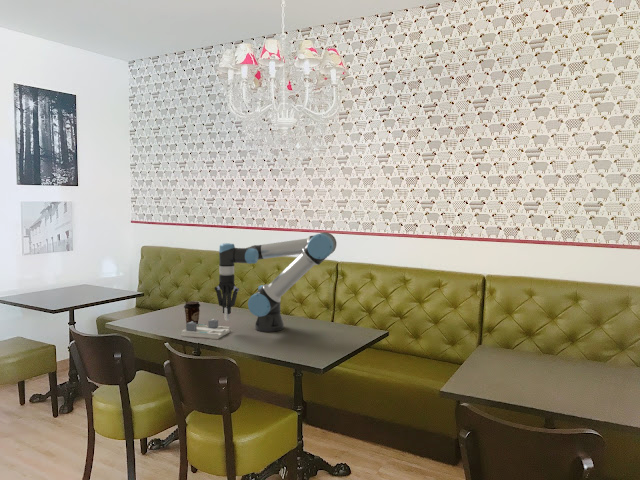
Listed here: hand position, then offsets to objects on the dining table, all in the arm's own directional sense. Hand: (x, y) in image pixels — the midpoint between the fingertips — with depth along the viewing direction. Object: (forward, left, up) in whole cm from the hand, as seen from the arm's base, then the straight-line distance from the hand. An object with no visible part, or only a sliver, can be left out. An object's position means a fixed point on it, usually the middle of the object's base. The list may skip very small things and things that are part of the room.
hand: (226, 319), depth 253 cm
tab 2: (+8, 0, -5) cm, 9 cm away
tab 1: (+16, +8, -5) cm, 18 cm away
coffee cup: (+24, -7, -7) cm, 26 cm away
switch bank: (+10, +4, -7) cm, 13 cm away
